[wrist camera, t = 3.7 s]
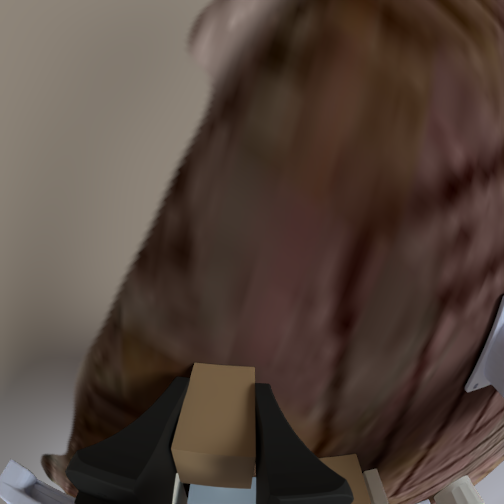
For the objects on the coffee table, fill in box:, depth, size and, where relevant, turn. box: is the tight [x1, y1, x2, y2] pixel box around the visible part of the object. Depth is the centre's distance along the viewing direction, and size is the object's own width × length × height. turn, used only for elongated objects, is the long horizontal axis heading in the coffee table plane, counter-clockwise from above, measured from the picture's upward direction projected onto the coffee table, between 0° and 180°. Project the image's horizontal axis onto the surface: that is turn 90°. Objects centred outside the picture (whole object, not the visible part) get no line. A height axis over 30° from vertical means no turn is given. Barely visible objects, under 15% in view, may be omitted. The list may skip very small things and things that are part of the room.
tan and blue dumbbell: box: [171, 363, 256, 504], centre depth 13 cm, size 5×17×6 cm, turn 176°
